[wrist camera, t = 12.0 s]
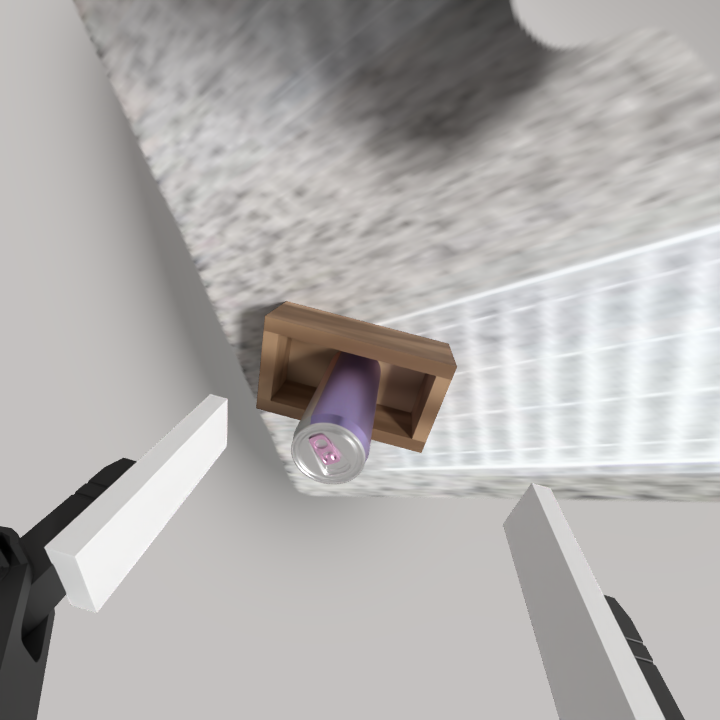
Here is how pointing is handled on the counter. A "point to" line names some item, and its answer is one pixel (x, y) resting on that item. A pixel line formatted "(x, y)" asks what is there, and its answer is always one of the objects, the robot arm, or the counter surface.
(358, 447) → the beverage can
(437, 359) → the tray
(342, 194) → the counter surface
